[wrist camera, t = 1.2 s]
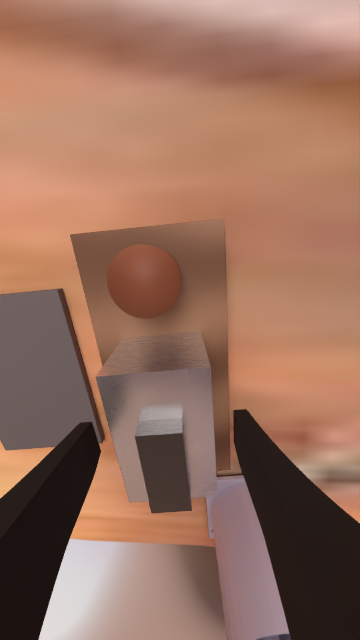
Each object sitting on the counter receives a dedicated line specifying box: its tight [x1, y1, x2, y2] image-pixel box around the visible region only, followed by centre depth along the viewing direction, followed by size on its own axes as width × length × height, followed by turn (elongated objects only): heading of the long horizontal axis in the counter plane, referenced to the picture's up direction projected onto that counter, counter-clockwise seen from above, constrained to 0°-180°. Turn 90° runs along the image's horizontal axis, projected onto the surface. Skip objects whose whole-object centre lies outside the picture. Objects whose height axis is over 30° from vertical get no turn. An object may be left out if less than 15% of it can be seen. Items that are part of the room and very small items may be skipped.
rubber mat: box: [0, 289, 104, 450], centre depth 16 cm, size 14×9×1 cm, turn 5°
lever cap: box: [96, 331, 218, 513], centre depth 11 cm, size 8×5×5 cm, turn 5°
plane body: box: [70, 218, 230, 471], centre depth 13 cm, size 18×8×6 cm, turn 5°
